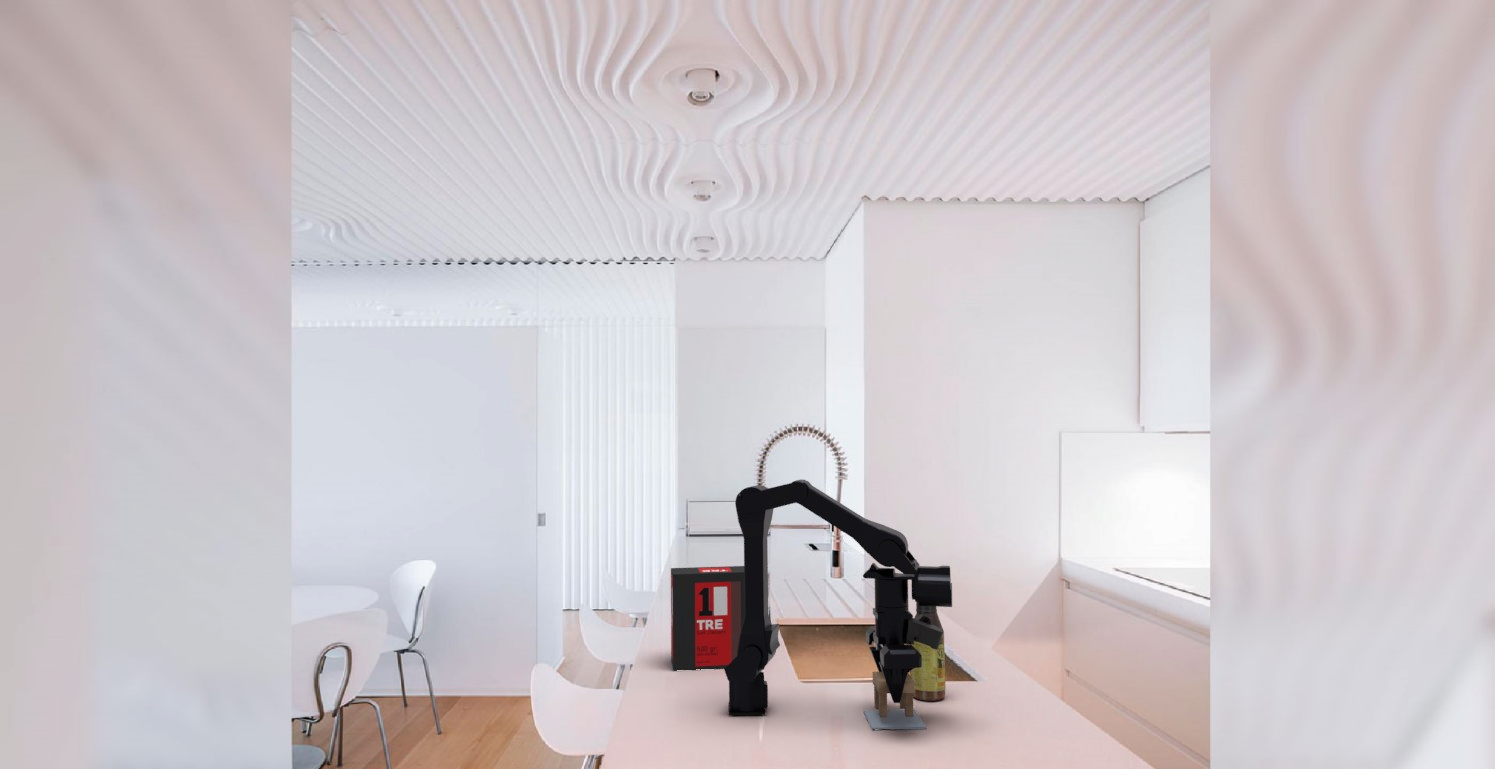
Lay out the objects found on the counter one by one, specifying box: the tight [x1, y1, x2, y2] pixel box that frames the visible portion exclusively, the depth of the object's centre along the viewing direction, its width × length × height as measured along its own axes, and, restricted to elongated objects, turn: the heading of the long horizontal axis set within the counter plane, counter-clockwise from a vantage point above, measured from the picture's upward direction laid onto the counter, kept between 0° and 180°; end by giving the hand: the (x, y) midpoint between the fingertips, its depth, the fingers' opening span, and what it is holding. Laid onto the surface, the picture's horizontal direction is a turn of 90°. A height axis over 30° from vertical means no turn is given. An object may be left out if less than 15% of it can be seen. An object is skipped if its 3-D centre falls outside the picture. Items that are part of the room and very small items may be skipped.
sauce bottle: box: [909, 602, 946, 702], centre depth 161 cm, size 6×6×20 cm
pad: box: [863, 709, 927, 730], centre depth 148 cm, size 9×9×1 cm
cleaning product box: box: [670, 565, 745, 672], centre depth 186 cm, size 16×9×20 cm, turn 98°
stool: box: [872, 671, 914, 717], centre depth 148 cm, size 6×6×6 cm
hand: (893, 697), depth 148 cm, fingers closed on stool, 6 cm apart
